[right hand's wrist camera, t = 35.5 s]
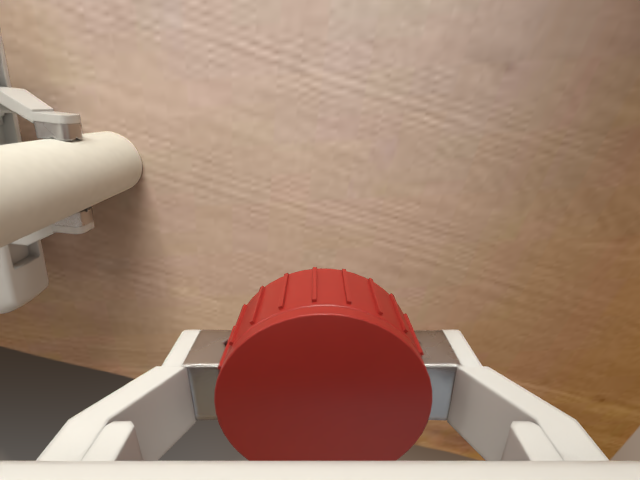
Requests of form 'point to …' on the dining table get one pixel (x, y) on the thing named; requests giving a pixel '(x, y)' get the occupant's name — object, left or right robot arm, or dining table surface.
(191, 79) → the dining table surface
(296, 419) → the lid
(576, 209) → the dining table surface
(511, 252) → the dining table surface
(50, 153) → the bottle
